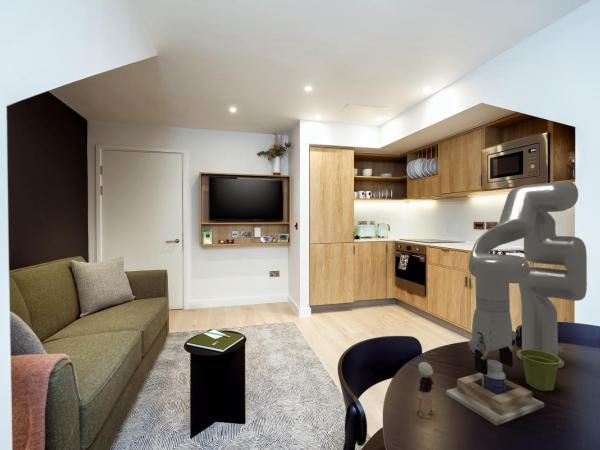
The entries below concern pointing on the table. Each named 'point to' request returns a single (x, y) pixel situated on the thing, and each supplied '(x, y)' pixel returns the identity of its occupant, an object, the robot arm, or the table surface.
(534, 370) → the plant pot
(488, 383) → the pill bottle
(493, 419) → the frame
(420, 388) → the grandmother figurine
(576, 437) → the table surface
